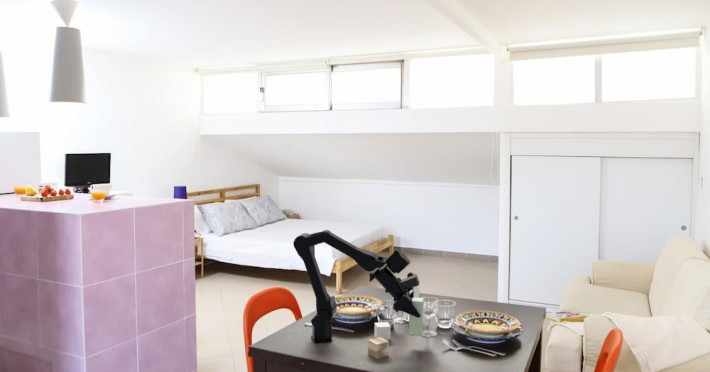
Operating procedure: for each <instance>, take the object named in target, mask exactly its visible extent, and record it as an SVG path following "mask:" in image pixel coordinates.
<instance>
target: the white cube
mask: <svg viewBox="0 0 710 372" xmlns="http://www.w3.org/2000/svg"><path fill="white" fill-rule="evenodd" d="M373 330H374V333H373V334H374V335H373V336H374V338H378V337H381V338H383V339H385V340H387V341H390V340H391V325H390V323H389V322H388V321H387V322H386V321H385V322H382V321H381V322H374V329H373Z"/></svg>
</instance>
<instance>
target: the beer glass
mask: <svg viewBox="0 0 710 372" xmlns="http://www.w3.org/2000/svg"><path fill="white" fill-rule="evenodd" d="M413 291H414V298H420V284H419V285H418V286H416V287H415V286H414V289H413V290H410V291H409V292H410V293H412V292H413ZM403 319H406V320H408V322H407V323H409V314H408V313H405V312H403V316H402V320H403Z"/></svg>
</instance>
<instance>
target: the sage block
mask: <svg viewBox="0 0 710 372" xmlns="http://www.w3.org/2000/svg"><path fill="white" fill-rule="evenodd" d="M411 298H412V297H411ZM412 303H413V305H414V306H415V308H416V309H417V311H418V312H419V314H420V315H421V317H419V318H417V317H415V316H412V315H410V314H409V322H408V335H409V336H421V337H422V336H423V331H424V330H423V329H424V327H423V326H424V298H423V297H419V298H412Z"/></svg>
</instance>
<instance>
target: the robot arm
mask: <svg viewBox="0 0 710 372" xmlns="http://www.w3.org/2000/svg"><path fill="white" fill-rule="evenodd" d="M323 243H325V244H326V245H328V246H330V247H332V248H333V249H336V250H337V251H339V252H340V253H342V254H344V255H346V256H347V257H349V258H351V259H352V260H353V261H355V263H356V264H357V265H358V266H359V267H361V268H362V269H363V270H365V272H369V274H368V275H369V282H372V281H373V280H376V281H377V282H378V284H380V286H382V288H383V289H384V292H385V293H386V294H388V295H390V296H391V297H392V300H393V304H392V309H393V310H394V311H395V313H398V312H402V313H404V312H405V313H408V314H410V315H412V316H415V317H417V318H419V317H421V315H420V314H419V312H418V311H417V309H416V308H415V306H414V305H413V303H412V298H414V291H413V292H412V293H410V292H409V291H410V290H413V289H414V286H415V287H416V286H418V285H419V286H420V281H419V277H418V275H417V273H413V272H407V274H406V277H405V278H401V277H397V276H396V275H395V274H398V275H399V274H400V273H401V272H402V271H404V270H405V268H407V267H408V266H409V265H410V264H411V261H410V259H409V258H408V256H407V255H406V254H404V253H403V252H401V251H400V250H399V249H398V248H396V249H394V251H393V252H392V253H391V254H390V255H389V256H388V257H386V256H382V255H381V256H380V255H379V254H377V253H376V252H373V251H370V250H369V249H368V250H367V249H365V248H360V247H357V246H356V245H355V244H352V243H351V242H349V241H347V240H345V239H343V238H342V237H340V236H339V235H337V234H335V233H333V232H331V231H330V230H329V229H324V230H322V231H319V232H313V233H310V234H309V233H307V232H304V233H301V234H299V235H298V236H296V238H294V240H293V244H292V245H293V247H294V249H295V252H296V253H297V255H298V256H299V257H300V259H302V261H303V264H304V267H305V270H306V273H307V276H308V278H309V281H310V284H311V288H312V291H313V294H314V296H315V309H316V314H315V315H314V316H313V318H311V320H310V322H311V325H312V327H311V332H312V333H311V336H310V338H311V339H312V341H313V343H315V344H318V343H329V342H332V341H333V326H332V323H331V320H332V319H333V318H334V316H335V315H336V313H337V310H338V303H337V302H336V299H335V295H332V296H331V295H330V294H329V293H328V291H327V288H326V285H325V282H324V280H323V277H322V274H321V271H320V267H319V265H318V262H317V259H316V253H315V252H316V250H315V249H316V247H315V246H316V245H320V244H323ZM411 297H412V298H411Z"/></svg>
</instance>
